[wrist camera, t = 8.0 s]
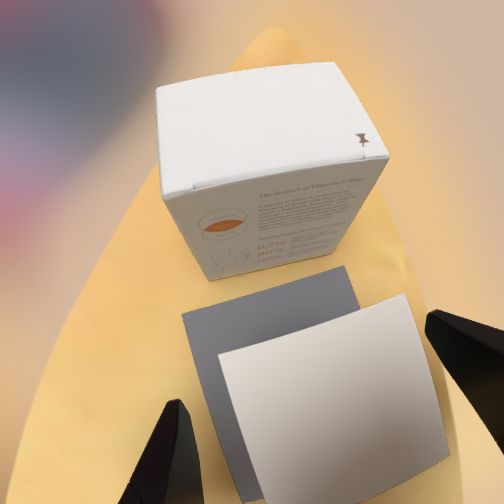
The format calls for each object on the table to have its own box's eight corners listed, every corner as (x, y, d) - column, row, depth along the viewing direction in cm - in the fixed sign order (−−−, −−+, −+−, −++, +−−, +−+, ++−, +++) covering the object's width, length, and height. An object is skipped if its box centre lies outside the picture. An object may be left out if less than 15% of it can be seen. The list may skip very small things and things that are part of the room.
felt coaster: (398, 443, 15) (402, 445, 15) (242, 499, 15) (242, 503, 14) (341, 268, 19) (344, 265, 19) (183, 315, 18) (181, 314, 18)
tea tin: (352, 415, 16) (449, 455, 6) (264, 445, 15) (276, 529, 6) (326, 332, 17) (404, 292, 8) (238, 360, 17) (217, 354, 8)
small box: (308, 181, 22) (339, 58, 12) (333, 256, 20) (397, 155, 10) (192, 203, 21) (152, 83, 11) (206, 284, 19) (158, 196, 9)
